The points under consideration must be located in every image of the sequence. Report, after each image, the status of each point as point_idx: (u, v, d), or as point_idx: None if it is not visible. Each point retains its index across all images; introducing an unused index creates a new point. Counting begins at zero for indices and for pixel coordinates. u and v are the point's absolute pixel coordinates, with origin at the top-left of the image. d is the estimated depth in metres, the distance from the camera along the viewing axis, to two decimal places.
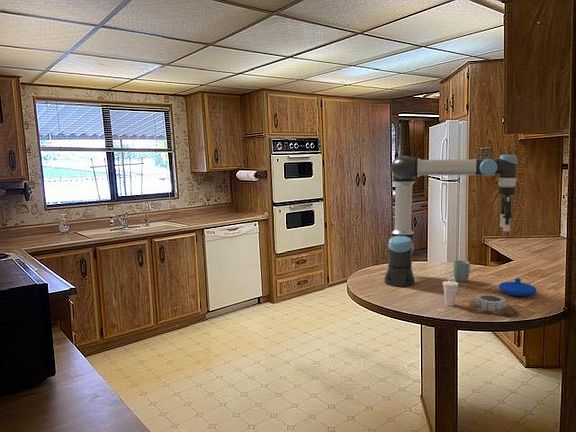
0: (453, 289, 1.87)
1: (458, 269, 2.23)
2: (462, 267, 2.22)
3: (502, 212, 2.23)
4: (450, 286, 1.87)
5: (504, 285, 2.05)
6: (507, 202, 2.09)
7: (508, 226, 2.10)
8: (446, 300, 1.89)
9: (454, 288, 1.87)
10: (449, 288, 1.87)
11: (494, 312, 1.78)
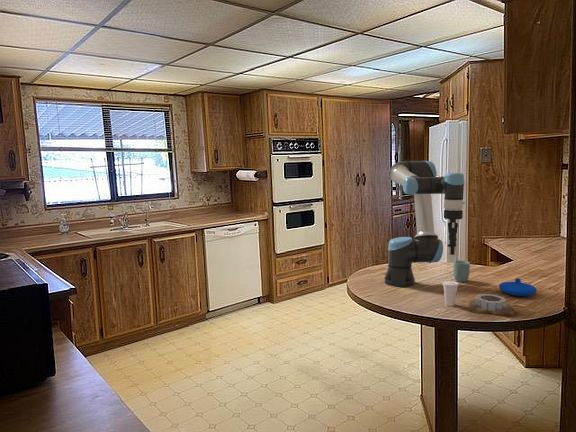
0: (453, 289, 1.87)
1: (458, 269, 2.23)
2: (462, 267, 2.22)
3: None
4: (450, 286, 1.87)
5: (504, 285, 2.04)
6: (452, 228, 1.80)
7: (453, 256, 1.81)
8: (446, 300, 1.89)
9: (454, 288, 1.87)
10: (449, 288, 1.87)
11: (494, 312, 1.78)
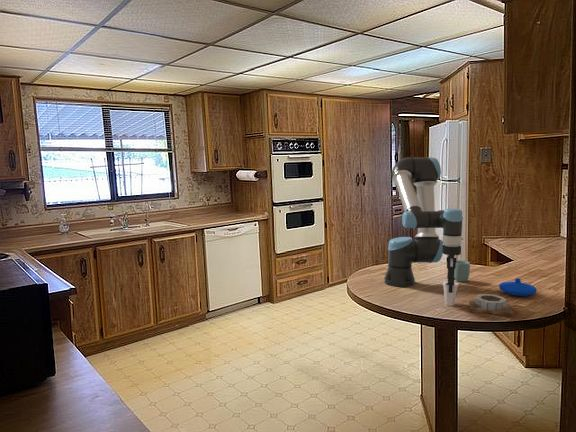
0: None
1: (458, 269, 2.23)
2: (462, 267, 2.22)
3: None
4: None
5: (504, 285, 2.05)
6: (450, 267, 1.83)
7: (452, 294, 1.86)
8: (446, 300, 1.89)
9: (454, 288, 1.87)
10: None
11: (494, 312, 1.78)
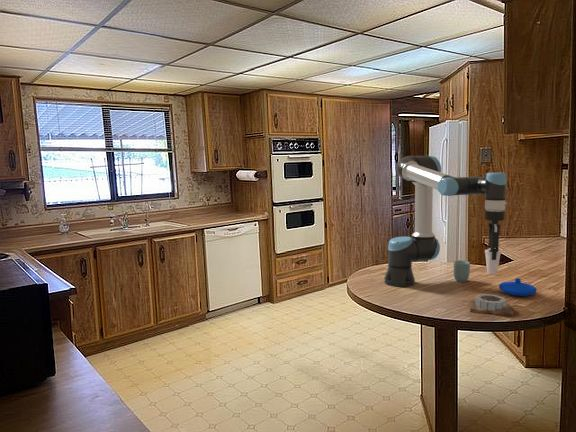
0: None
1: (458, 269, 2.23)
2: (462, 267, 2.22)
3: (490, 246, 1.85)
4: None
5: (504, 285, 2.05)
6: (494, 232, 1.74)
7: (495, 261, 1.78)
8: (488, 268, 1.81)
9: None
10: None
11: (494, 312, 1.78)
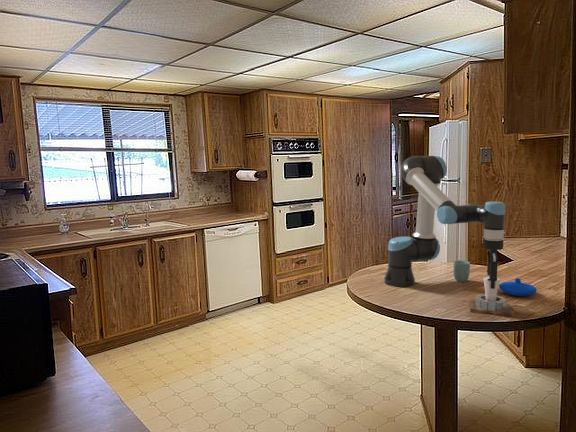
0: None
1: (458, 269, 2.23)
2: (462, 267, 2.22)
3: (489, 273, 1.86)
4: None
5: (504, 285, 2.05)
6: (493, 262, 1.76)
7: (494, 290, 1.79)
8: (487, 296, 1.83)
9: (496, 284, 1.80)
10: None
11: (494, 312, 1.78)
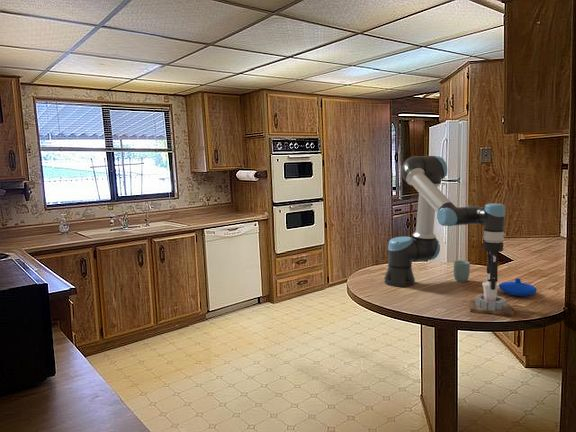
0: None
1: (458, 269, 2.23)
2: (462, 267, 2.22)
3: (488, 271, 1.88)
4: None
5: (504, 285, 2.05)
6: (493, 262, 1.75)
7: (494, 291, 1.77)
8: None
9: None
10: None
11: (494, 312, 1.78)
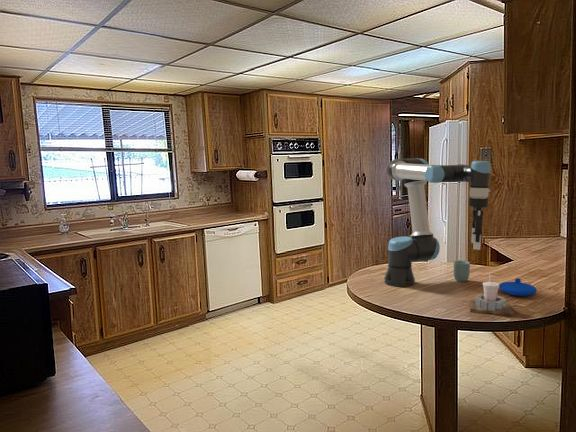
0: (494, 290, 1.81)
1: (458, 269, 2.23)
2: (462, 267, 2.22)
3: (474, 226, 1.95)
4: (491, 287, 1.80)
5: (504, 285, 2.05)
6: (478, 216, 1.81)
7: (478, 244, 1.83)
8: None
9: (495, 289, 1.81)
10: (490, 289, 1.81)
11: (494, 312, 1.78)
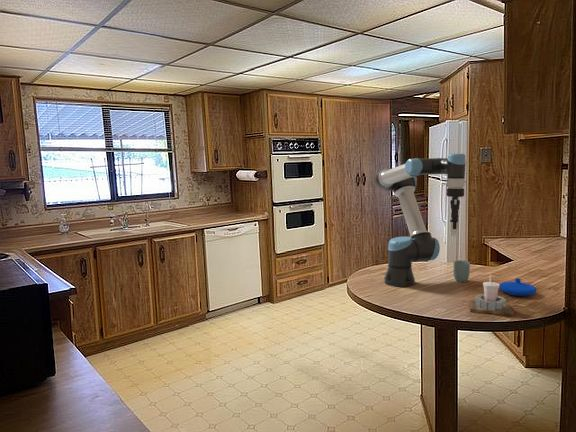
0: (494, 290, 1.81)
1: (458, 269, 2.23)
2: (462, 267, 2.22)
3: None
4: (491, 287, 1.80)
5: (504, 285, 2.05)
6: (454, 204, 1.93)
7: (456, 231, 1.94)
8: None
9: (495, 289, 1.81)
10: (490, 289, 1.81)
11: (494, 312, 1.78)
